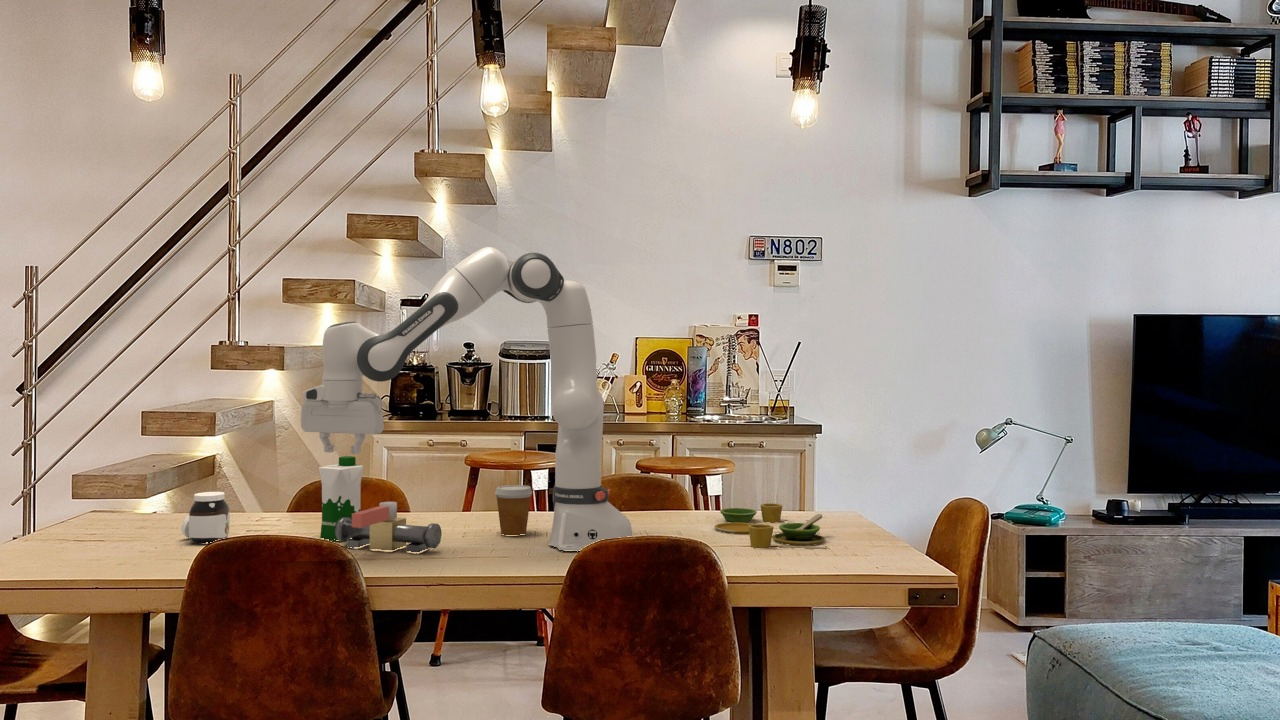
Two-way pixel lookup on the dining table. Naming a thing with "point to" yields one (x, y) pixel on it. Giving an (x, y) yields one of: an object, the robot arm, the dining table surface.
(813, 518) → the tableware set
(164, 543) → the dining table surface
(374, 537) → the grey pipe with feet
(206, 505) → the spread jar
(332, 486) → the soya milk
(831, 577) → the dining table surface
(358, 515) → the lever
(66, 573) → the dining table surface
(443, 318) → the robot arm
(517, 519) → the disposable coffee cup
